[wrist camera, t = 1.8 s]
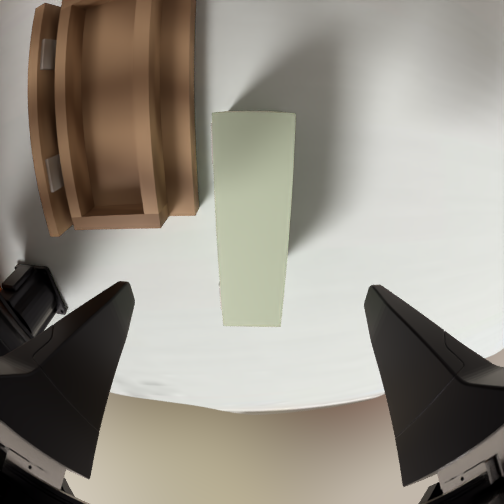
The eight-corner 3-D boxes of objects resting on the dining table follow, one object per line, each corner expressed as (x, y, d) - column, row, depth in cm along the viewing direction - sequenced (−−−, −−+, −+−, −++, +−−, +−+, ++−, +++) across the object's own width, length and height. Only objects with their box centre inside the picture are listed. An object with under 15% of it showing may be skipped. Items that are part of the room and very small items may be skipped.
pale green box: (274, 264, 22) (280, 326, 16) (229, 264, 22) (220, 325, 16) (281, 111, 16) (295, 113, 10) (225, 111, 16) (207, 113, 10)
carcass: (199, 207, 20) (185, 235, 16) (79, 212, 20) (50, 236, 16) (197, -21, 11) (182, -48, 7) (68, 16, 11) (35, 8, 7)
